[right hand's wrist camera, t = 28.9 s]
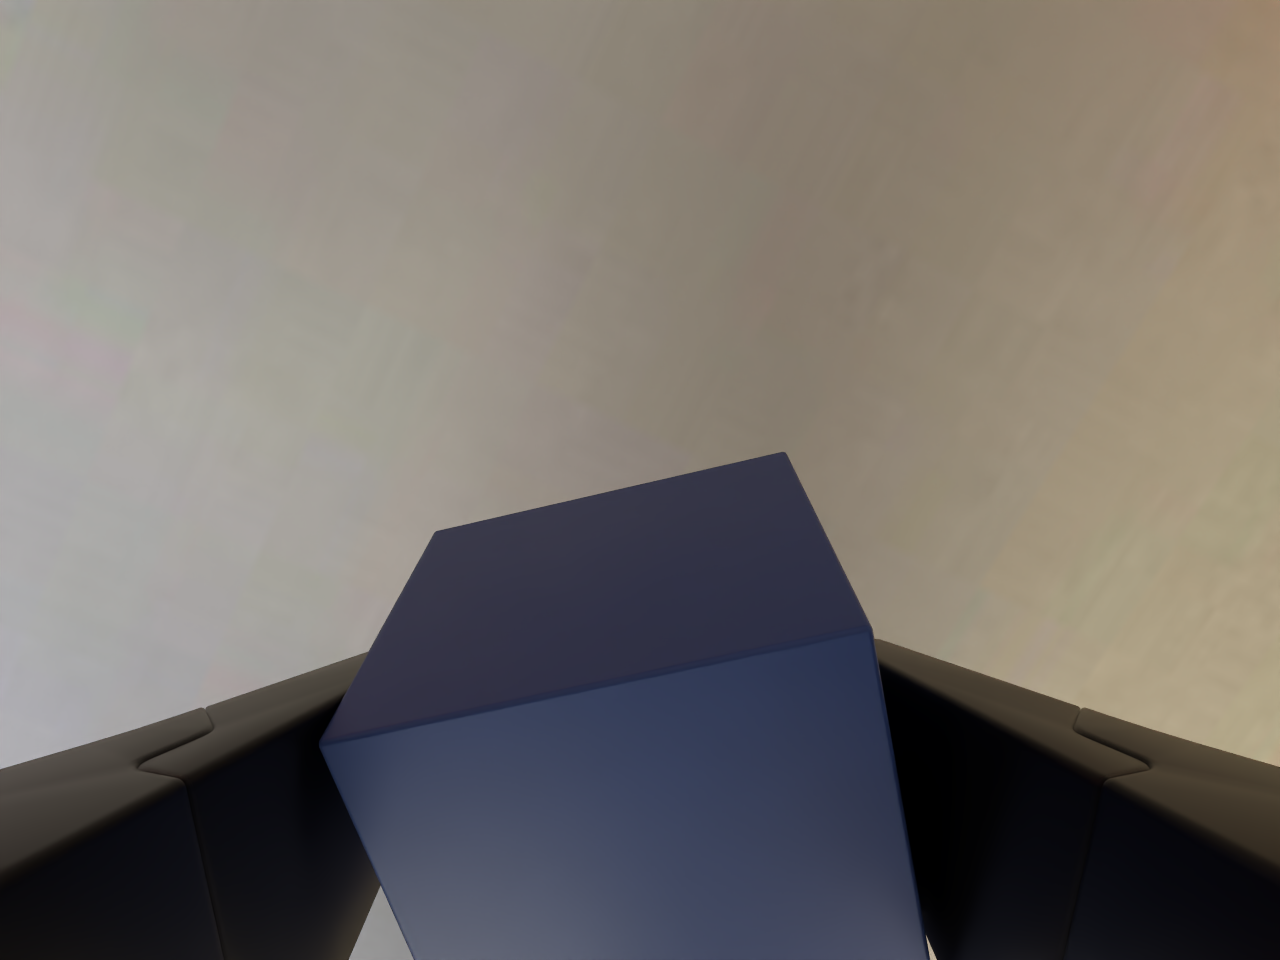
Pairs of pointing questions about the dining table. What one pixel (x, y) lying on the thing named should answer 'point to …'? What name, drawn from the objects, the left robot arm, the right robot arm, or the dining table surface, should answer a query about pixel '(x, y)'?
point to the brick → (633, 737)
